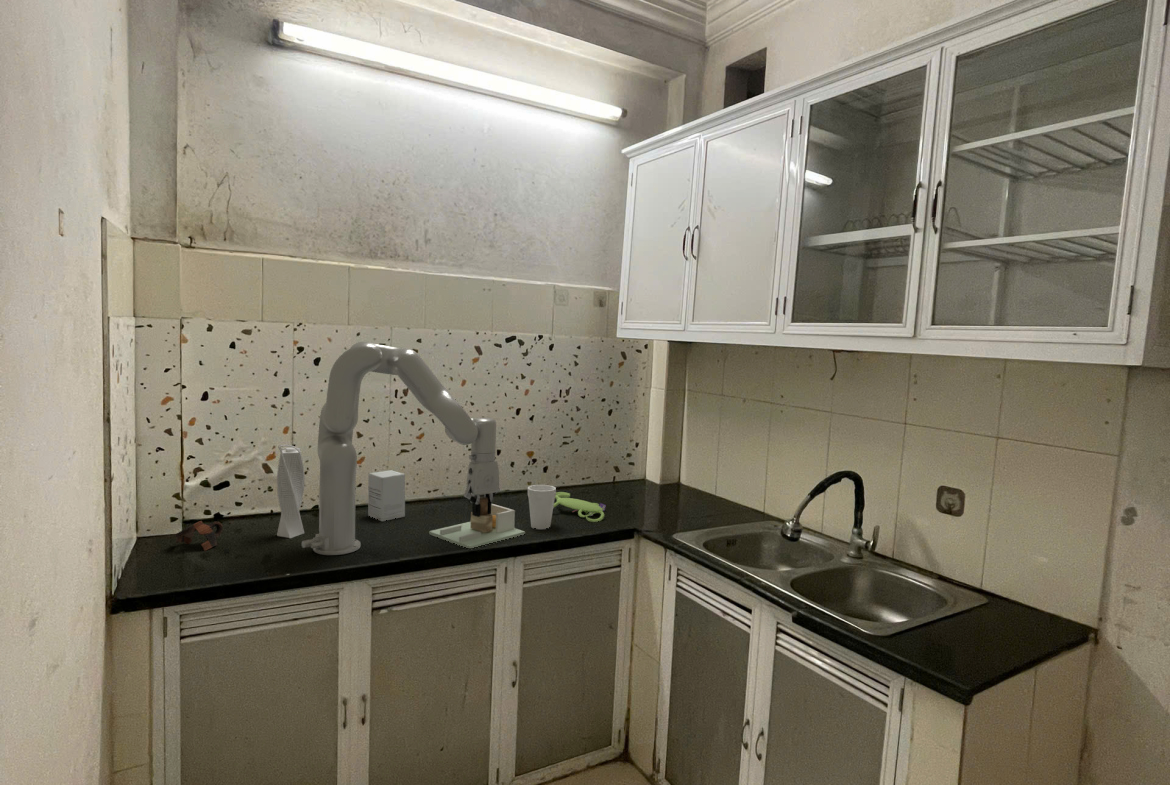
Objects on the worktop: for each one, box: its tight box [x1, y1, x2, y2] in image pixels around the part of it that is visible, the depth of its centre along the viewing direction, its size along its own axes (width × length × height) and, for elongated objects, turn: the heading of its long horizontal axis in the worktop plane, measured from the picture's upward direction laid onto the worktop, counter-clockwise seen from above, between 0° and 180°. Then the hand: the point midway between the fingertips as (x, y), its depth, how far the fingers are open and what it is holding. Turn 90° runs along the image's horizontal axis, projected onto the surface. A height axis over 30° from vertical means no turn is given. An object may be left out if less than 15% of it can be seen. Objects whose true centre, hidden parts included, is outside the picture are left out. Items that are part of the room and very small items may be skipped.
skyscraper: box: [276, 444, 306, 539], centre depth 190 cm, size 8×8×28 cm
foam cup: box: [527, 484, 557, 530], centre depth 210 cm, size 10×9×13 cm
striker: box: [470, 496, 493, 533], centre depth 200 cm, size 4×7×10 cm, turn 49°
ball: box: [492, 515, 496, 528], centre depth 203 cm, size 4×4×4 cm
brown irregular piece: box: [174, 520, 224, 552], centre depth 179 cm, size 12×9×8 cm
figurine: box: [553, 491, 607, 523], centre depth 230 cm, size 18×27×6 cm
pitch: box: [428, 503, 526, 549], centre depth 199 cm, size 22×20×7 cm
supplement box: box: [367, 469, 406, 522], centre depth 214 cm, size 9×9×15 cm
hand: (481, 514), depth 200 cm, fingers closed on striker, 3 cm apart
